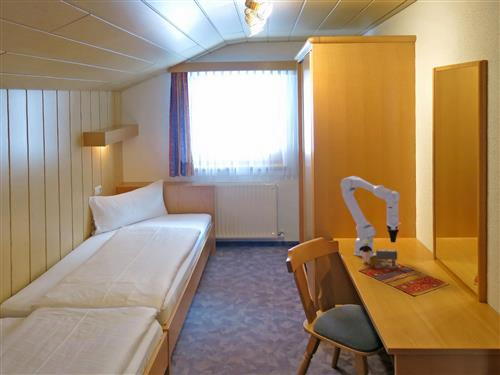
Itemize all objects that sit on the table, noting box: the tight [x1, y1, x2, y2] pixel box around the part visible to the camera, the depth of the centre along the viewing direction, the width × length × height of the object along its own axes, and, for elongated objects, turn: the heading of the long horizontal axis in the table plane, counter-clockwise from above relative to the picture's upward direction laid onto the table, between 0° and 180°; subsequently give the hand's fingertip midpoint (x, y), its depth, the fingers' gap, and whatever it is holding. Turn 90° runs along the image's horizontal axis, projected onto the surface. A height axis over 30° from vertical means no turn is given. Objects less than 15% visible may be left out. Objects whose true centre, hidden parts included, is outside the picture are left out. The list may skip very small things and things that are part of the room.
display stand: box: [374, 259, 399, 269], centre depth 266 cm, size 11×6×4 cm, turn 78°
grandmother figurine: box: [358, 239, 374, 265], centre depth 273 cm, size 8×4×13 cm, turn 84°
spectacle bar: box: [375, 249, 398, 261], centre depth 266 cm, size 10×3×4 cm, turn 78°
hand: (392, 240), depth 276 cm, fingers open, 7 cm apart
